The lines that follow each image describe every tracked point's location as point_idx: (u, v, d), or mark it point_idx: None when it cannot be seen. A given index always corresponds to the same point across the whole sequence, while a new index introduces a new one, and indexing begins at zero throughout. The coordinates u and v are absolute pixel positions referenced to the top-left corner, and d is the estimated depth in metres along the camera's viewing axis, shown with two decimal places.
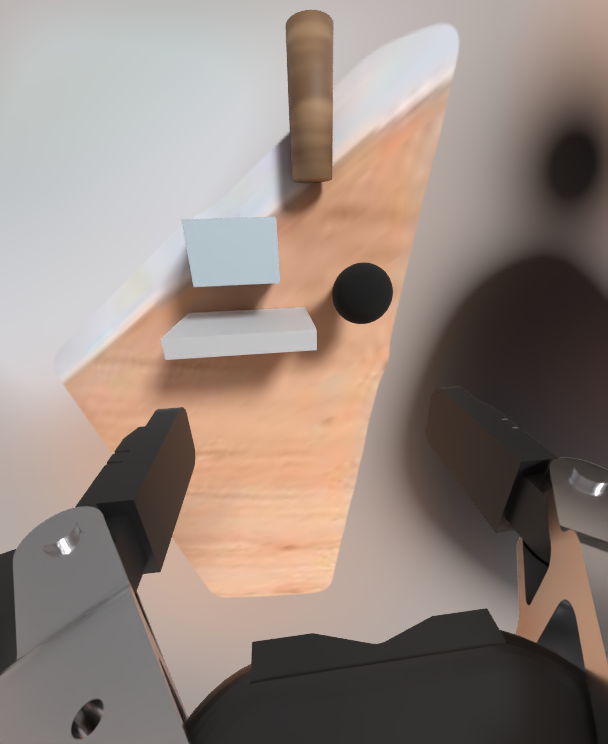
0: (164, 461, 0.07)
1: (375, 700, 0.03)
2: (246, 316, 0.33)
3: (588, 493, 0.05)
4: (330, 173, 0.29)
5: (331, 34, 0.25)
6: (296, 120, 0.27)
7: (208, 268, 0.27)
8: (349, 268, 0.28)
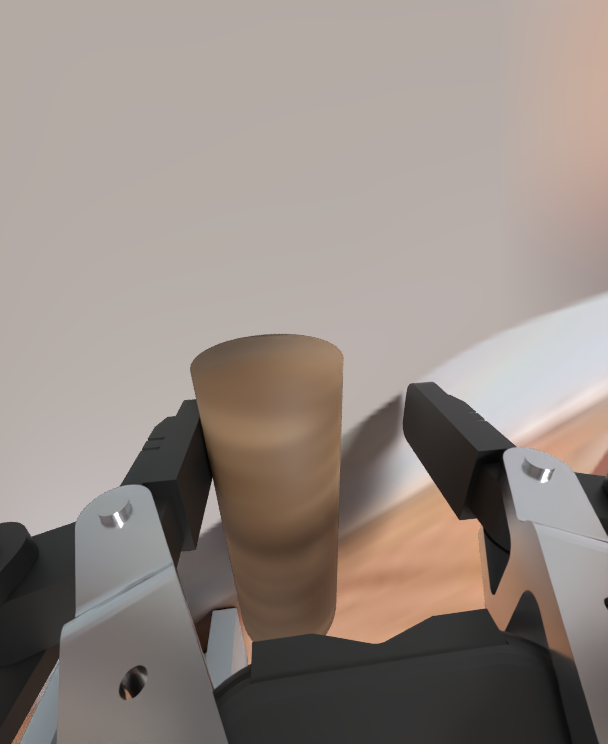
0: (196, 447, 0.08)
1: (375, 700, 0.03)
2: None
3: (534, 479, 0.06)
4: None
5: (302, 423, 0.07)
6: None
7: None
8: None
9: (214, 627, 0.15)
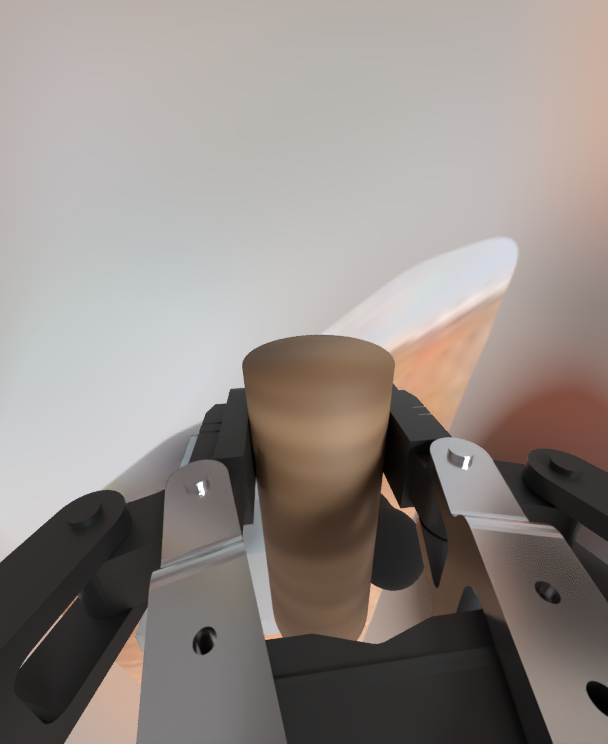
0: None
1: (375, 700, 0.03)
2: None
3: (452, 465, 0.06)
4: (366, 613, 0.12)
5: (390, 400, 0.08)
6: (282, 573, 0.09)
7: None
8: None
9: None
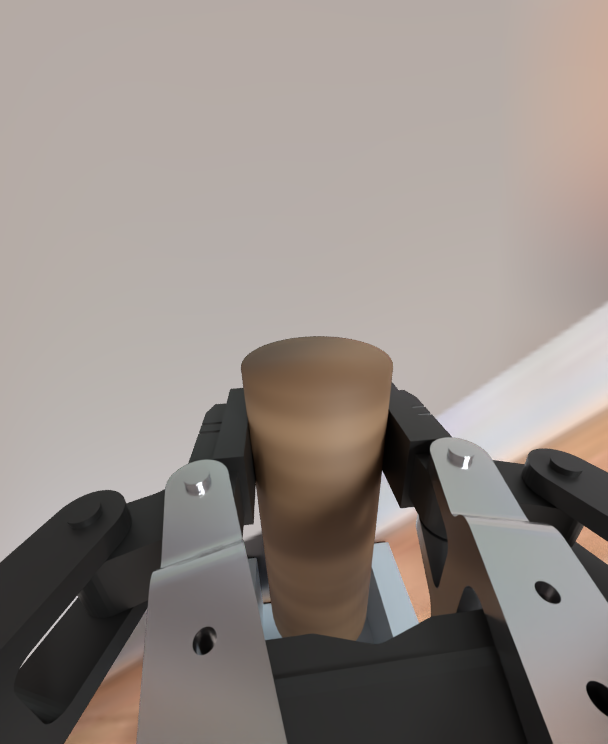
0: None
1: (375, 700, 0.03)
2: None
3: (452, 465, 0.06)
4: (365, 614, 0.12)
5: (388, 402, 0.08)
6: (281, 574, 0.10)
7: None
8: None
9: (373, 558, 0.15)
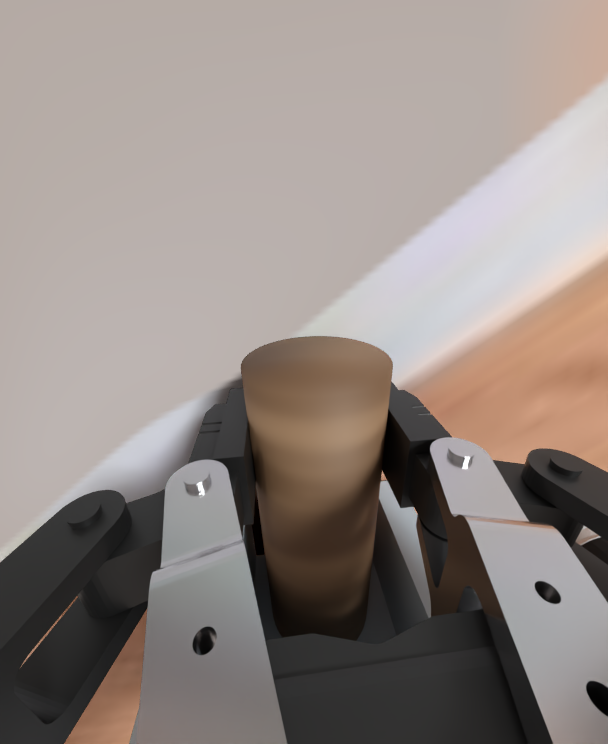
0: None
1: (375, 700, 0.03)
2: None
3: (452, 466, 0.06)
4: (365, 614, 0.12)
5: (388, 402, 0.08)
6: (281, 574, 0.10)
7: None
8: None
9: (382, 494, 0.13)
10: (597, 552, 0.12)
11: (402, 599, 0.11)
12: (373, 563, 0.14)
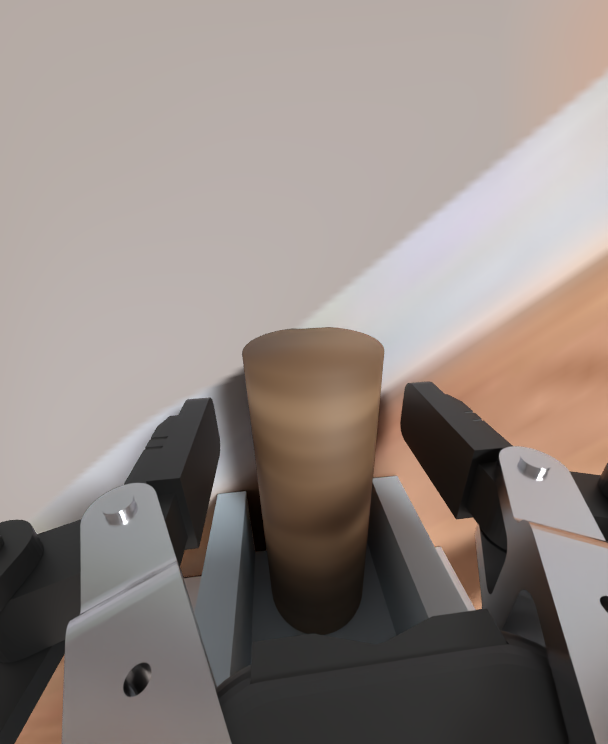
0: (199, 446, 0.08)
1: (375, 700, 0.03)
2: None
3: (529, 478, 0.06)
4: (361, 595, 0.12)
5: (380, 386, 0.08)
6: (279, 551, 0.10)
7: None
8: None
9: (380, 490, 0.13)
10: None
11: (400, 594, 0.11)
12: (372, 559, 0.14)
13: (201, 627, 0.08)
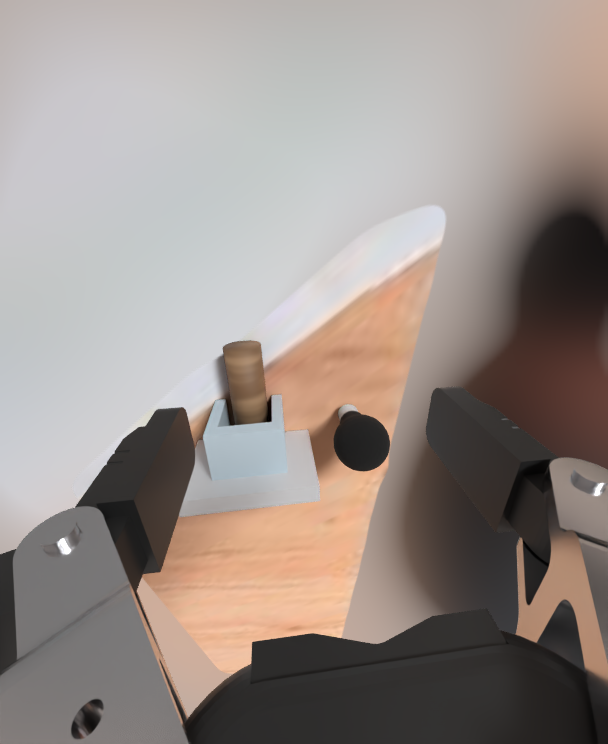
0: (164, 461, 0.07)
1: (375, 700, 0.03)
2: None
3: (588, 493, 0.05)
4: None
5: (259, 355, 0.32)
6: (236, 408, 0.33)
7: (225, 467, 0.31)
8: (349, 425, 0.31)
9: (273, 397, 0.36)
10: (344, 414, 0.35)
11: None
12: None
13: (210, 421, 0.32)
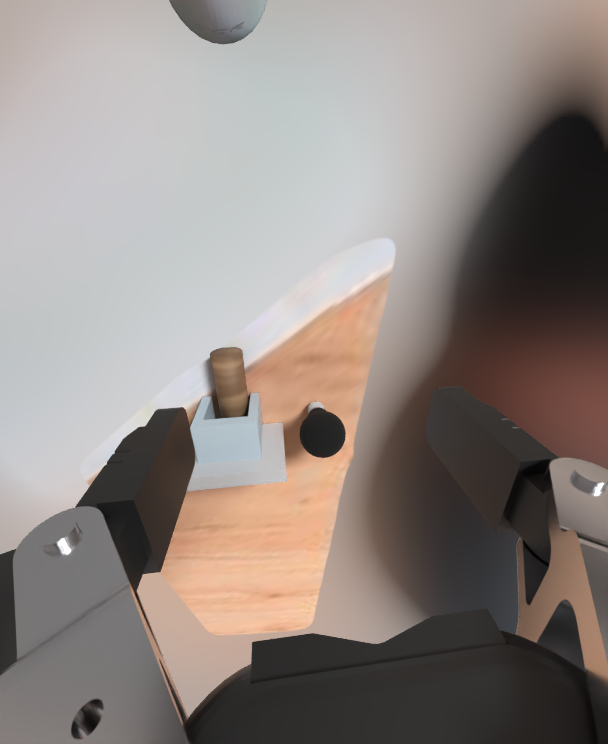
0: (164, 461, 0.07)
1: (375, 700, 0.03)
2: None
3: (588, 493, 0.05)
4: None
5: (242, 359, 0.38)
6: (223, 405, 0.39)
7: (209, 453, 0.37)
8: (311, 420, 0.37)
9: (251, 395, 0.42)
10: (311, 410, 0.41)
11: None
12: None
13: (197, 415, 0.38)
